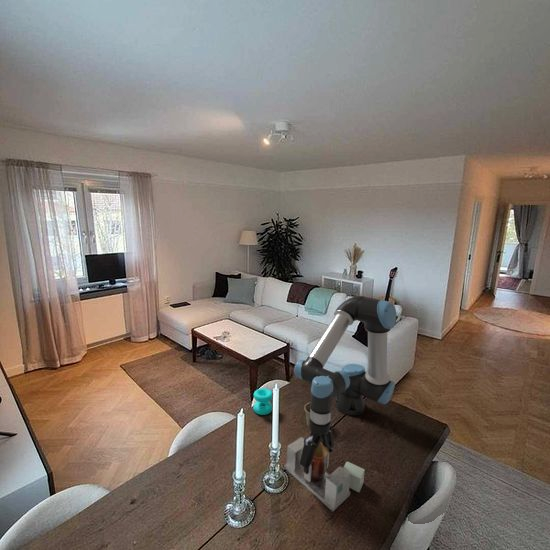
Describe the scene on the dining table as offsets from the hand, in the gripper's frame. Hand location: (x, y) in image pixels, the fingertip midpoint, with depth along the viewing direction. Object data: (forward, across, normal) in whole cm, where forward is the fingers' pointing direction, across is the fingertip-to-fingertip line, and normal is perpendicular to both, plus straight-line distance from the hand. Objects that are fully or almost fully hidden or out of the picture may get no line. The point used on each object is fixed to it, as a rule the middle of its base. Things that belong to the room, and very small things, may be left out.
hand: (316, 472), depth 115 cm
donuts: (+4, -12, -46) cm, 48 cm away
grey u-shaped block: (+4, 0, 0) cm, 4 cm away
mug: (+2, 0, 0) cm, 2 cm away
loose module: (+4, -10, +10) cm, 14 cm away
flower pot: (+4, -24, -22) cm, 33 cm away
